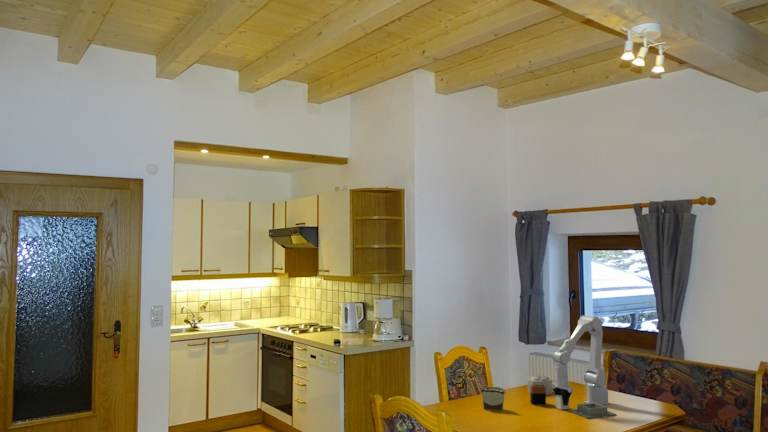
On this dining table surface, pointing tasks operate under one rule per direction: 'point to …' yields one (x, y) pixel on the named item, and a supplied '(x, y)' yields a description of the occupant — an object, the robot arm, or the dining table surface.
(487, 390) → the food container
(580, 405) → the socket dock
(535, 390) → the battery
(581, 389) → the dining table surface
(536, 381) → the lumpy-topped squat cylinder
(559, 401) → the plug
